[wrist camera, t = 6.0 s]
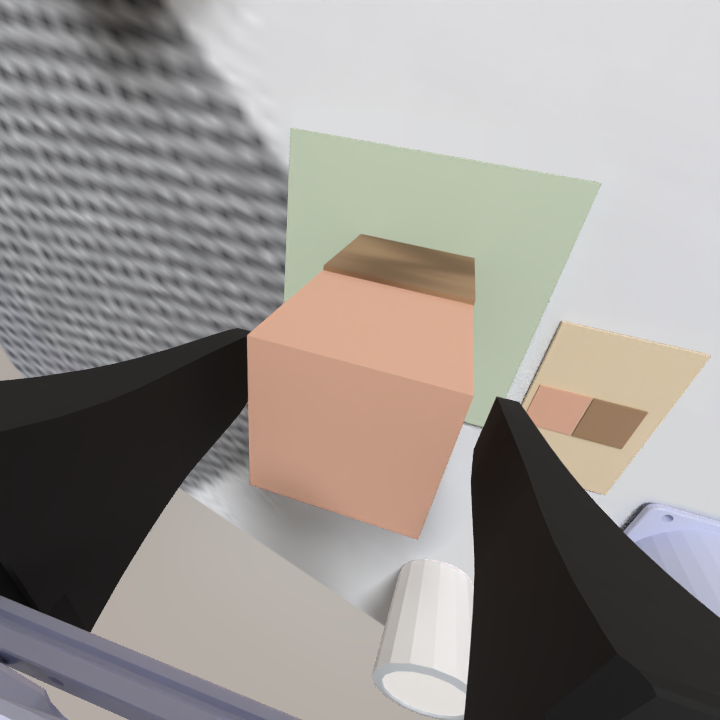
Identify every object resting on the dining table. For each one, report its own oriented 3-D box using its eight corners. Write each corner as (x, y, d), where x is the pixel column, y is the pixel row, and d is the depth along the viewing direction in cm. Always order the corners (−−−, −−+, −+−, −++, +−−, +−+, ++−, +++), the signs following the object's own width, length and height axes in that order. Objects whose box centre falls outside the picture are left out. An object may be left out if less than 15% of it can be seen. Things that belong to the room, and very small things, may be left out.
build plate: (597, 182, 14) (601, 183, 13) (491, 423, 20) (491, 429, 20) (295, 128, 16) (290, 128, 15) (285, 367, 22) (281, 371, 22)
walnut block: (474, 258, 16) (475, 300, 12) (443, 357, 18) (435, 420, 14) (361, 233, 17) (323, 265, 12) (347, 332, 19) (312, 386, 15)
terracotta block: (473, 305, 12) (473, 395, 8) (433, 423, 14) (417, 539, 10) (322, 269, 12) (247, 335, 8) (311, 389, 15) (249, 484, 11)
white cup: (379, 553, 29) (355, 659, 23) (470, 553, 26) (470, 673, 20) (406, 606, 31) (391, 713, 25) (491, 611, 29) (496, 732, 23)
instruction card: (708, 354, 16) (712, 357, 16) (604, 492, 21) (605, 496, 20) (561, 320, 17) (563, 323, 16) (494, 460, 21) (494, 464, 21)
